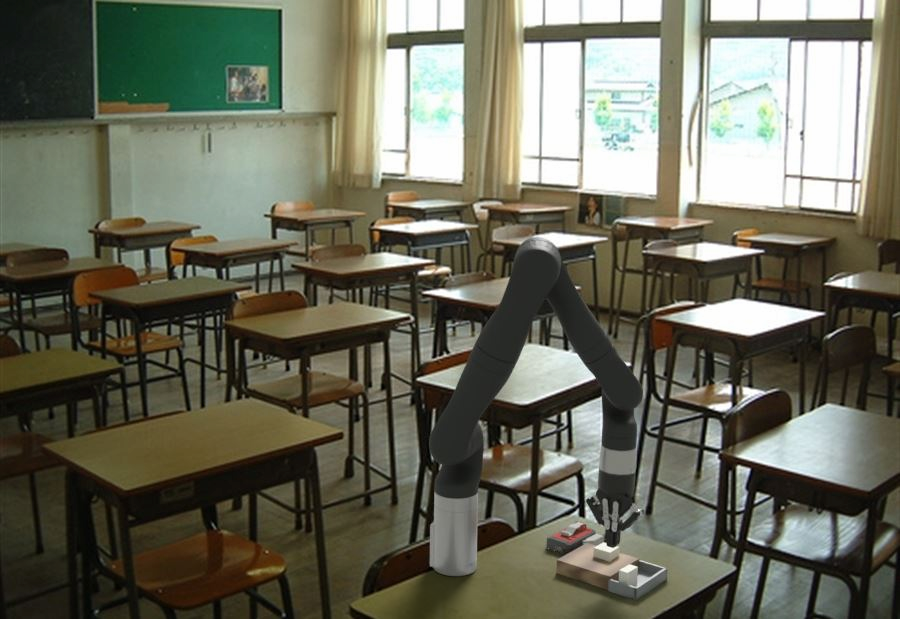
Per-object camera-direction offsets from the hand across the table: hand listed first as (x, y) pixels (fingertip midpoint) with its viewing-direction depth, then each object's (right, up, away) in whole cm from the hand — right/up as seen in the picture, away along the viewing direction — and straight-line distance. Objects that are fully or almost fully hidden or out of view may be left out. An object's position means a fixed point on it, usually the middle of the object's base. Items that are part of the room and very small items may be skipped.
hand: (612, 546), depth 236 cm
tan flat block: (-2, -7, +6) cm, 9 cm away
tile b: (0, -4, +7) cm, 8 cm away
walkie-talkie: (-4, -4, +22) cm, 23 cm away
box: (+5, -8, 0) cm, 10 cm away
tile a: (+2, -6, -2) cm, 7 cm away
